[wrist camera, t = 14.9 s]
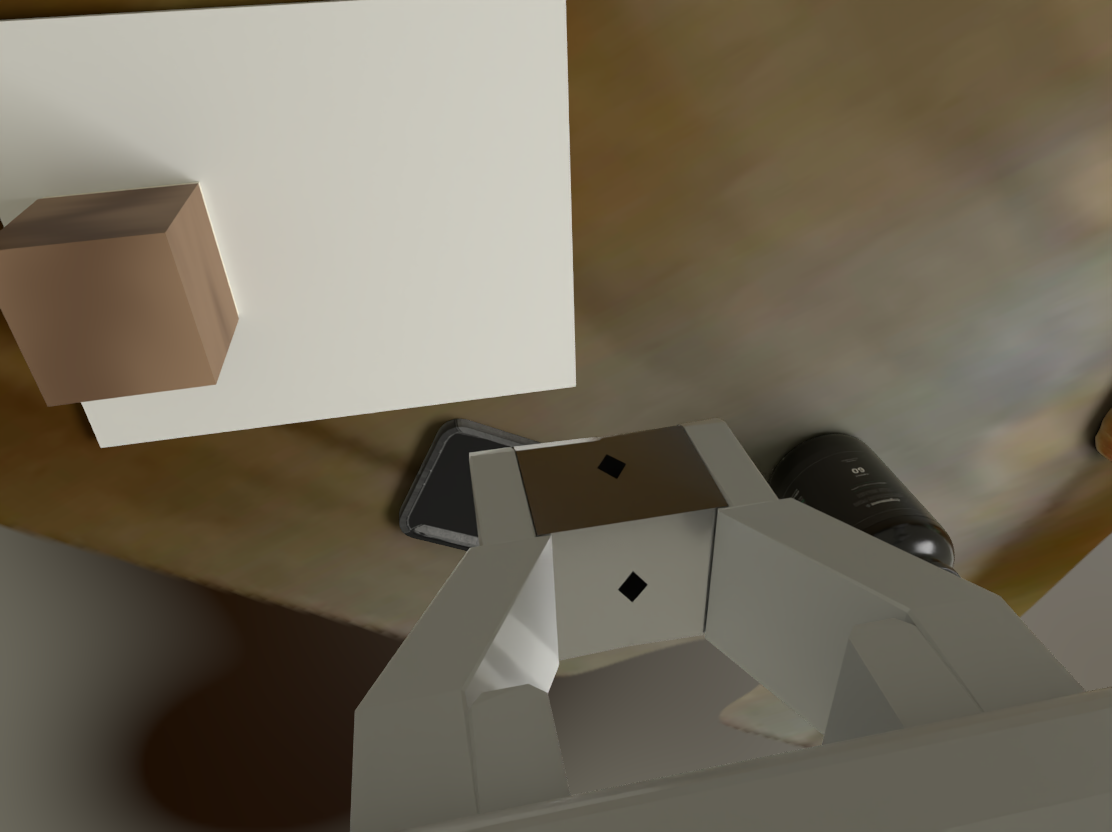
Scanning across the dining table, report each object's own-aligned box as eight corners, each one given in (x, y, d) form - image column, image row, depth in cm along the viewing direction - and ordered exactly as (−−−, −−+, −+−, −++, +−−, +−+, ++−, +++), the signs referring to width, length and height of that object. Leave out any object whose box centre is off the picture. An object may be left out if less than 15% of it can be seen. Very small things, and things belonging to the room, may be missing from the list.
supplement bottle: (887, 431, 47) (1023, 571, 37) (848, 519, 50) (963, 669, 40) (783, 428, 45) (897, 574, 35) (751, 520, 49) (846, 676, 39)
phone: (623, 588, 49) (393, 533, 43) (618, 576, 50) (392, 520, 44) (688, 494, 45) (448, 420, 40) (682, 482, 46) (447, 408, 40)
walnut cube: (-27, 252, 26) (41, 195, 31) (48, 406, 29) (98, 331, 34) (165, 232, 26) (200, 180, 31) (216, 384, 30) (240, 314, 35)
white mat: (562, -13, 31) (565, -12, 30) (573, 380, 41) (575, 386, 40) (-76, 24, 28) (-84, 26, 27) (104, 440, 37) (100, 447, 37)
